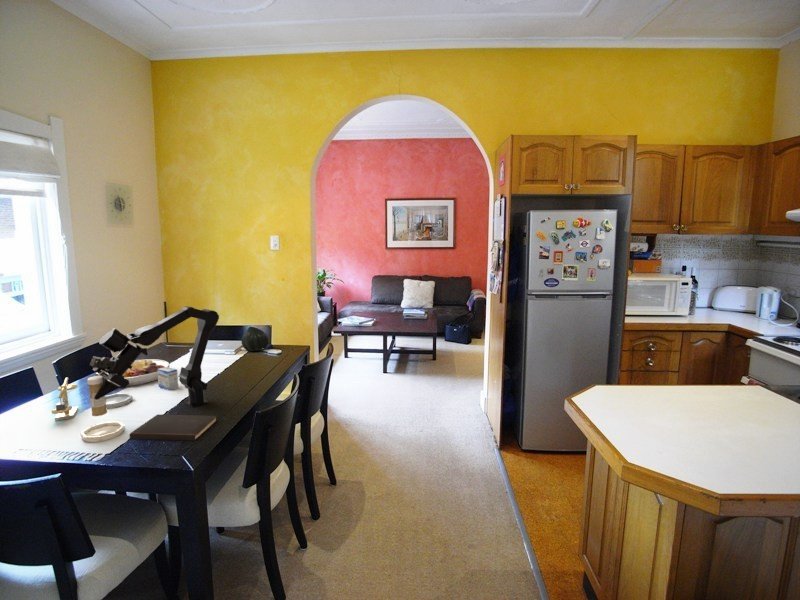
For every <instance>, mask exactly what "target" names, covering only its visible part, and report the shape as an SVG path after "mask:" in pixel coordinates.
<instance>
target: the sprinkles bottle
mask: <svg viewBox="0 0 800 600" xmlns="http://www.w3.org/2000/svg"><path fill="white" fill-rule="evenodd" d="M86 381H87V385H88V390H89V399H90V402H89V403H90V407H91V416H93V417H100V416H105V415H106V414H107V413H108V410H107V409H108V408H107V409H106V398H105V396H106V395H105V396H103V397H101V398H99V399H98V400H96V399H94V397H95V395H96V394H97V392H98V391H99V389H100V388H101V386H102V385H103V376H95V375H94V376H89V377H88V378H87V380H86Z"/></svg>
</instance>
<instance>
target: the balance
mask: <svg viewBox="0 0 800 600" xmlns="http://www.w3.org/2000/svg"><path fill="white" fill-rule="evenodd" d="M68 380H69V377H65V379H64V381H63V383H62V385H60V386H59V387H58V388H57V389H58V391H59V395H58V399H59V401H58V402H57V403H56V404H55V408H53V409H51V414H52V415H53V414H54V415H55V417H54V421H55V422H56V421H62V420H63V419H64V420H69V418H70V419H74V418H75V416H76V414H77V413H78V411H79V406H71V405H69V397H68V391H71V390H75V389H77V388H78V384H76V383H70V384H69V381H68ZM76 412H77V413H76Z"/></svg>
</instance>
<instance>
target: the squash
mask: <svg viewBox="0 0 800 600" xmlns="http://www.w3.org/2000/svg"><path fill="white" fill-rule="evenodd" d="M241 346H242V347H243V348H244V350H245V351H247V350H250V351H249V352H251V351H254V350H255V351H259V349H262V348H265V349H267V348H268V346H269V338H268V336H267V334H266V332H264V331H263V330H261V329H259V328H257V327H255V326H249V327H247V329H246V331H245V332H244V334H243V335H242V337H241ZM255 351H254V352H255Z"/></svg>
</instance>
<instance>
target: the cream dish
mask: <svg viewBox="0 0 800 600" xmlns="http://www.w3.org/2000/svg"><path fill="white" fill-rule="evenodd" d="M124 429H125V424H123V422H121V421H105V422H100V423H97V424H94V425H89V426H88V427H86V428H85V429H84V430H82V431H81V432H80V436H81V440H82V441H83V442H86V443H98V442H105V441H108V440H111V439H114V438H116V437H118V436H120V435H121V434H122V433H124V431H125V430H124Z"/></svg>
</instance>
